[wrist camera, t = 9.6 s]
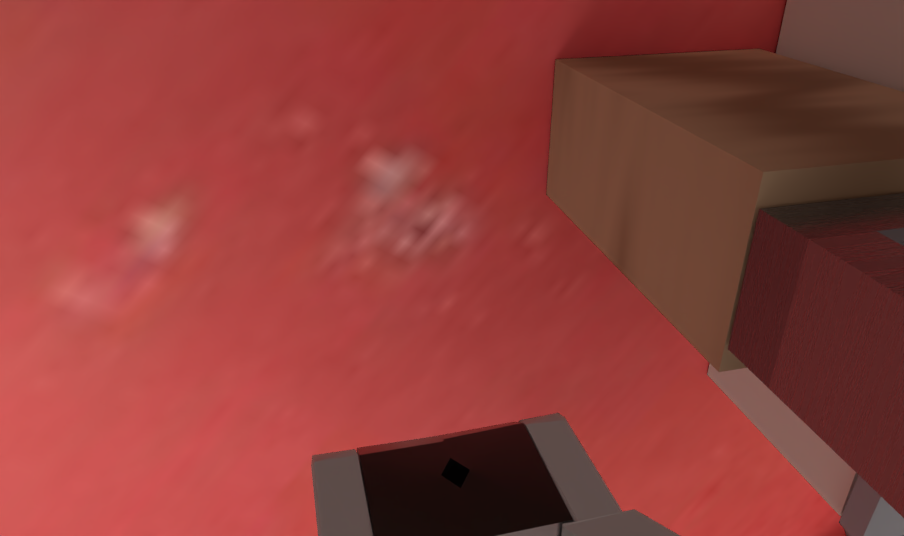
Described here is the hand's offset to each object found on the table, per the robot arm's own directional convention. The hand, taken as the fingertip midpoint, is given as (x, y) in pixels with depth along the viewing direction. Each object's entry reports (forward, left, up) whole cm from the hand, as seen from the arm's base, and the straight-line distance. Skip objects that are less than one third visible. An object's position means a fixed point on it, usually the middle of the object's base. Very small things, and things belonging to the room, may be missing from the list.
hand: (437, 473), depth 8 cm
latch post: (-9, 0, -12) cm, 15 cm away
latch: (-9, 0, -3) cm, 10 cm away
